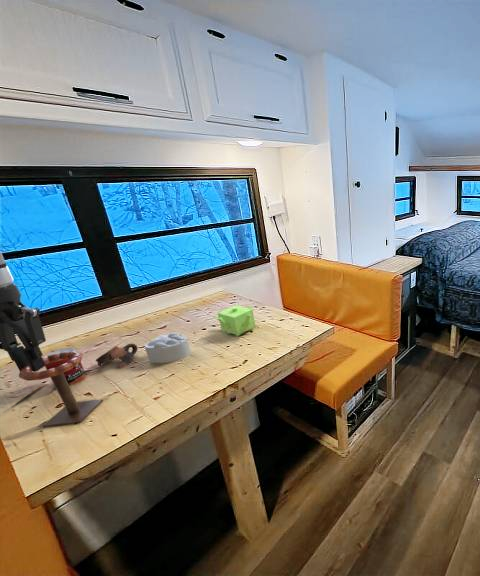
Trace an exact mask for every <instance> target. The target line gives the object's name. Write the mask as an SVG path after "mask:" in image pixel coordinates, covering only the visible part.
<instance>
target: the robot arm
mask: <svg viewBox="0 0 480 576" xmlns="http://www.w3.org/2000/svg"><path fill="white" fill-rule="evenodd" d="M14 280H15V279H14V278H13V275H12V273H11V271H10V269H9V267H8V264H7V263H6V260H5V257H4V256H3V253H2V251H1V250H0V350H3V351H4V352H7V354H8V356H9V358H10V360H11V361H12V362H14V363H15V365H16V367H17V369H18V371H19V372H20V371H21V370H22V368H23V367H25V366H27V365H28V364H30V366H31V368H32V370H33V371H32V372H39V371H40V370H41V369H43V368H45V366H46V365H45V363H44V361H43V359H42V358H43V353H42V350H41V348H40V345H41V344H43V343H45V342H47V339H46V336H45V332H44V329H43V326H42V322H41V319H40V311H41V310H40V308H39V307H34V308H30V307H27V306H26V304H24V302H22V301H21V297H22V293H21V291H20V290H19V287H18V285H17V284H16V283H14ZM16 336H17V337H16ZM17 338H18V339H19V341H20V342H18V340H17Z"/></svg>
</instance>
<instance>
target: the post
mask: <svg viewBox="0 0 480 576" xmlns="http://www.w3.org/2000/svg"><path fill="white" fill-rule="evenodd" d="M50 379H52V380H51V381H53V382H52V384H53V383H54V384H53V386H54V385H55V386H54V387H55V389H56V391H57V393H58V395H59V398H60V400H61V402H62V404H63V406H64V407H63V408H62V409H60V411H58V412H57V413H56V414H55V415H53V416H52V417H51V418H50V419H48V421H46V422H45V423H44V424H43V425H42V427H43V428H49V427H59V426H64V425H67V426H68V425H75V424H81V423H82V422H83V421H84V420H85V419H86V418H87V417H88V416H89V415H91V413H92V412H94V410H95V409H96V408H98V407H99V405H101V404H102V403H103V402H104V399H103V398H100V399H91V400H85V401H83V400H82V401H77V400H76V398H75V395H74V393H73V390H72V389H71V387H70V386H69V384H68V382H67V380H66V378H65V376H64V374H63V373H61V374H59V375H56V376H52V377H50Z"/></svg>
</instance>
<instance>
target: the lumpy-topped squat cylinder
mask: <svg viewBox="0 0 480 576" xmlns="http://www.w3.org/2000/svg"><path fill="white" fill-rule="evenodd" d="M188 341H189V340H188V338H187V336H186V335H184V334H180V333H178V332H175V331H173V332H170V333H168V334H159V335H158V336H156V337H155V338H153V339H152V340H150V341H149V342H148V343H146V344H145V345H144V349H145V352H146V355H147V358H148V360H149V363H150V364H170V363H174V362H177V361H180V360H183V359H185V358H188V357H189V356H190V355H191V353H192V352H191V347H190V345H189V342H188Z"/></svg>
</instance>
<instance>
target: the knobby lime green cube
mask: <svg viewBox="0 0 480 576" xmlns="http://www.w3.org/2000/svg"><path fill="white" fill-rule="evenodd" d="M217 316H218V317H216V318H214V321H219V325H220V329H221V331H223V332H226V333H227V335H228V334H229V335H230V334H233V335H234V336H235V337H240V336H242V334H243V333H245V332H247V331H251V330H252V329H253V328H255V327H256V321H255V316H254V310H253V306H247V307H243V306H240V305H234V306H231V307H229V308H227V309H223V310H221V311H220V312H217Z"/></svg>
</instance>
